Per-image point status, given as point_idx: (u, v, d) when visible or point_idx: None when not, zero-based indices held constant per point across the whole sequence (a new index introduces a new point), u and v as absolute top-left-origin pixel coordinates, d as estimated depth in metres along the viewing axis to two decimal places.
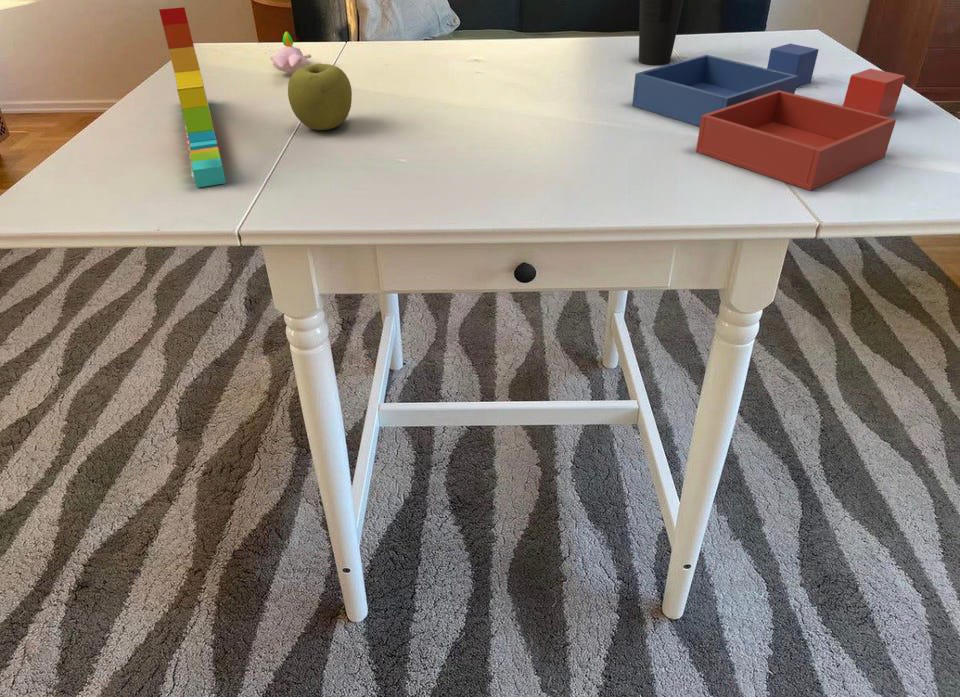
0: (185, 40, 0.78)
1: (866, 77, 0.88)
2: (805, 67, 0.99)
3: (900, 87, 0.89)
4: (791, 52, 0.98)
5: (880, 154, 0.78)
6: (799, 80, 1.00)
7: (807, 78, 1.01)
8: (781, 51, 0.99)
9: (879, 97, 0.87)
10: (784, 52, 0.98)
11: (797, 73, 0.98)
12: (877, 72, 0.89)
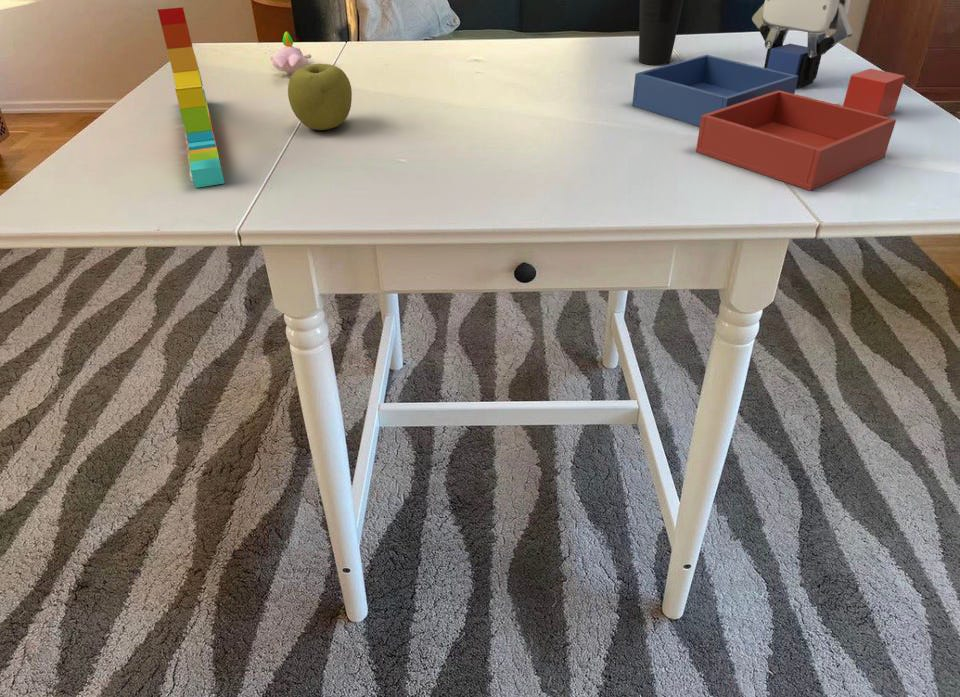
0: (184, 40, 0.78)
1: (866, 77, 0.88)
2: None
3: (900, 87, 0.89)
4: (791, 52, 0.98)
5: (880, 154, 0.78)
6: None
7: None
8: (781, 51, 0.99)
9: (879, 97, 0.87)
10: (784, 52, 0.98)
11: (797, 73, 0.98)
12: (877, 72, 0.89)
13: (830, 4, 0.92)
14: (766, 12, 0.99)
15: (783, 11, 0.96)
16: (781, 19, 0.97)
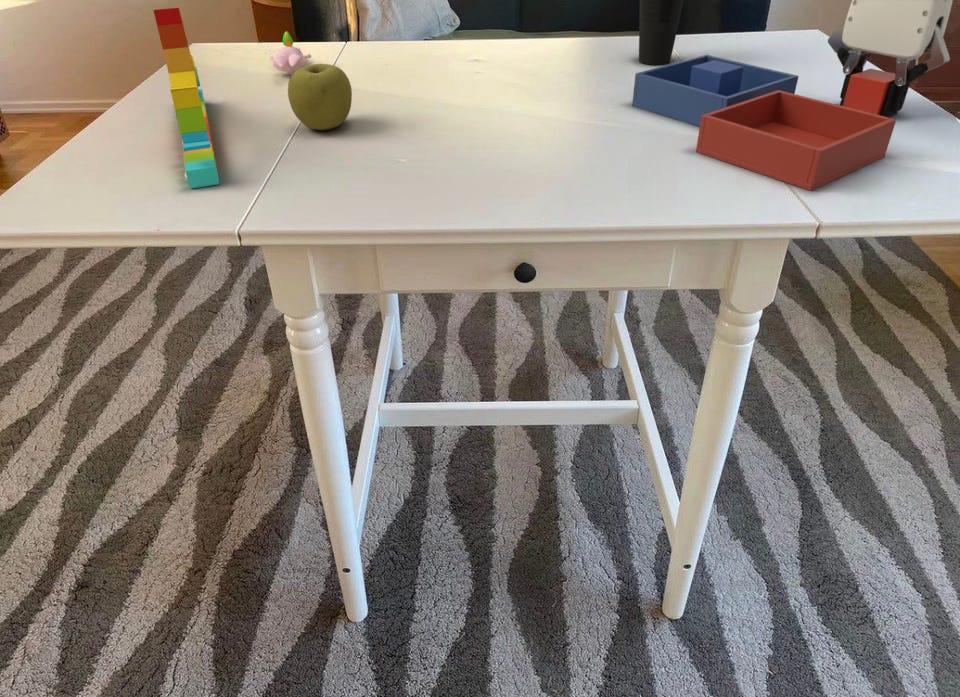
0: (180, 41, 0.78)
1: (866, 77, 0.88)
2: (728, 86, 0.90)
3: None
4: (713, 70, 0.89)
5: (880, 154, 0.78)
6: None
7: None
8: (702, 69, 0.90)
9: (879, 96, 0.87)
10: (705, 70, 0.90)
11: (719, 93, 0.90)
12: (877, 72, 0.89)
13: (926, 27, 0.81)
14: (847, 34, 0.87)
15: (868, 33, 0.85)
16: (865, 42, 0.86)
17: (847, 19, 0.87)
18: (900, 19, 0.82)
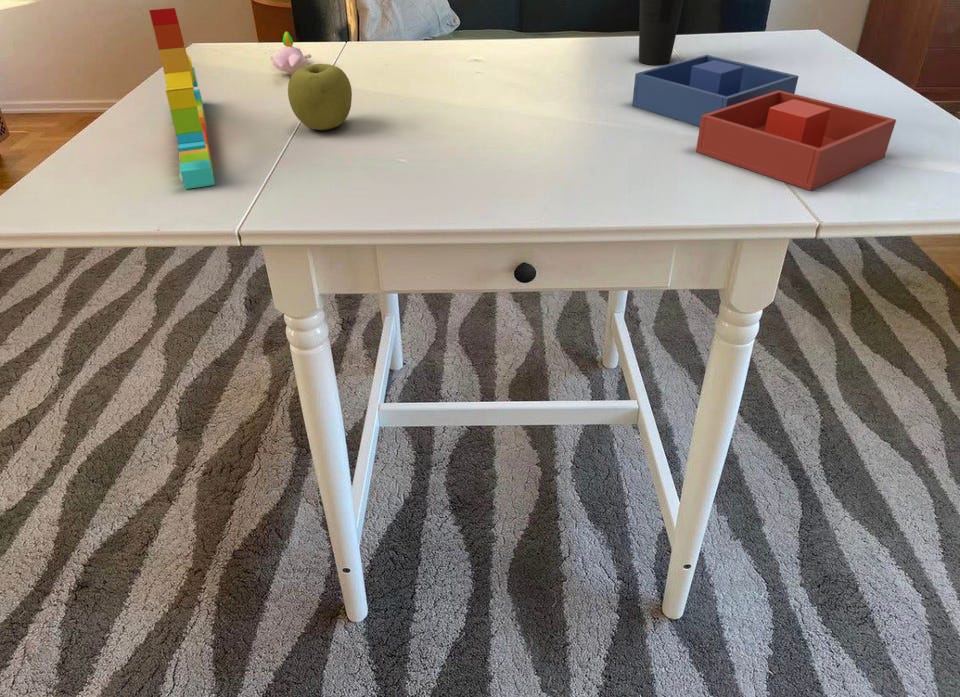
0: (175, 41, 0.78)
1: (786, 110, 0.76)
2: (728, 86, 0.90)
3: (825, 122, 0.77)
4: (713, 70, 0.89)
5: (880, 154, 0.78)
6: None
7: None
8: (702, 69, 0.90)
9: (800, 133, 0.76)
10: (705, 70, 0.90)
11: (719, 93, 0.90)
12: (800, 104, 0.78)
13: None
14: None
15: None
16: None
17: None
18: None
